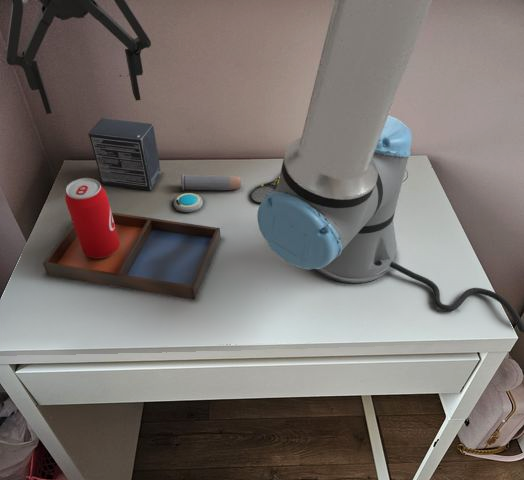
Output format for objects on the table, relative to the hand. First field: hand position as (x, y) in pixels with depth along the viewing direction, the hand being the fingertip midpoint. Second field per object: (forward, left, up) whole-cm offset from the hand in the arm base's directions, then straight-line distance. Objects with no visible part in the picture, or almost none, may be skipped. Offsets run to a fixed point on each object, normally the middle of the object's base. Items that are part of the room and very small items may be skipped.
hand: (93, 103), depth 81 cm
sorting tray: (-8, +12, -20) cm, 24 cm away
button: (-12, -4, -20) cm, 23 cm away
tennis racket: (-24, -14, -19) cm, 34 cm away
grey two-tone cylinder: (-15, -11, -17) cm, 25 cm away
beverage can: (-2, +12, -19) cm, 23 cm away
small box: (+1, -10, -20) cm, 22 cm away
